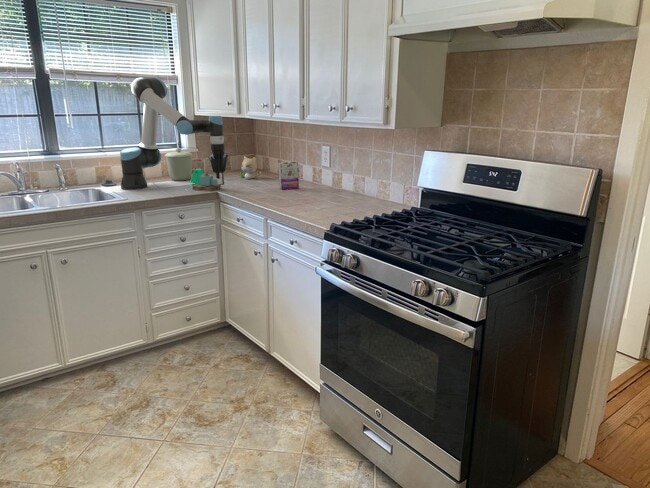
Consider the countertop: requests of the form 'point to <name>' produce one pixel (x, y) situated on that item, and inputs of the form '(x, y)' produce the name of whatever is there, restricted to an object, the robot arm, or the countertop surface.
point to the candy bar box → (288, 175)
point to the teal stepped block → (209, 180)
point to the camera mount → (196, 176)
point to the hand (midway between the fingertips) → (220, 183)
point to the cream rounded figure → (249, 168)
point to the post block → (208, 188)
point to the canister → (179, 165)
